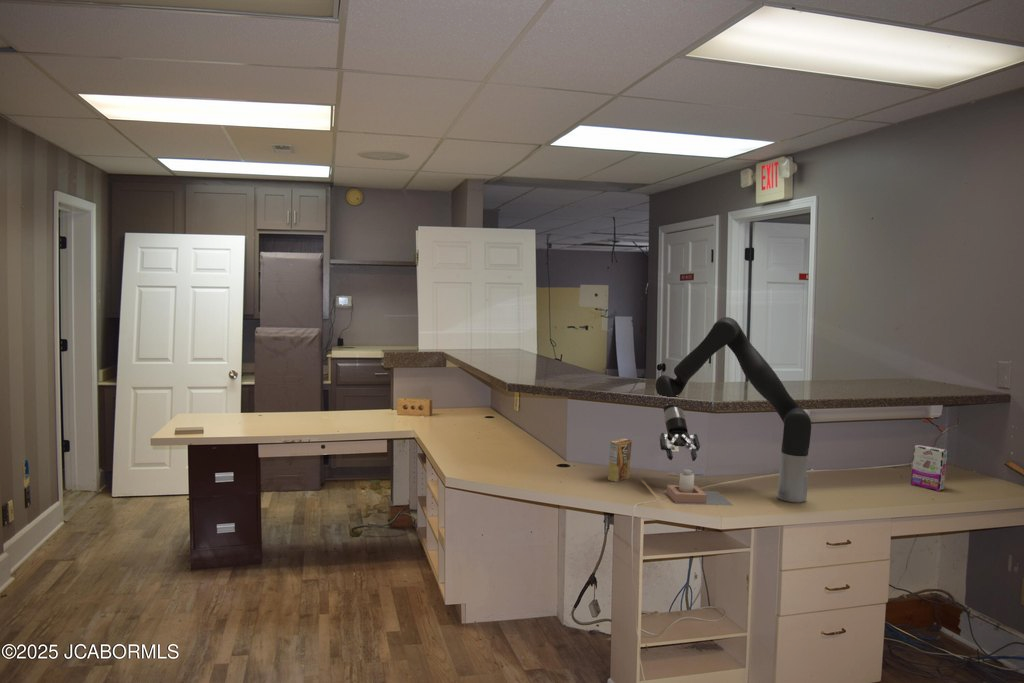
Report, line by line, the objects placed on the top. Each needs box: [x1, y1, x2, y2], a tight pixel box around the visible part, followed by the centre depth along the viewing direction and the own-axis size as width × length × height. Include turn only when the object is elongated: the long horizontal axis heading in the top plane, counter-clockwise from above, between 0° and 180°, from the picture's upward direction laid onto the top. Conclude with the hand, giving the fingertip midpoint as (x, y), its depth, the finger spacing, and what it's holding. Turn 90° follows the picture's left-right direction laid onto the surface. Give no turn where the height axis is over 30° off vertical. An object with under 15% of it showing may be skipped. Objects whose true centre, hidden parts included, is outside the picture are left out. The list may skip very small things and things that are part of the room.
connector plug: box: [678, 468, 695, 493], centre depth 265 cm, size 5×5×10 cm
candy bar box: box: [910, 444, 948, 492], centre depth 300 cm, size 11×5×16 cm, turn 40°
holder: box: [662, 484, 734, 506], centre depth 267 cm, size 21×16×4 cm
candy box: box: [607, 438, 633, 483], centre depth 289 cm, size 9×4×15 cm, turn 137°
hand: (682, 459), depth 271 cm, fingers open, 8 cm apart
